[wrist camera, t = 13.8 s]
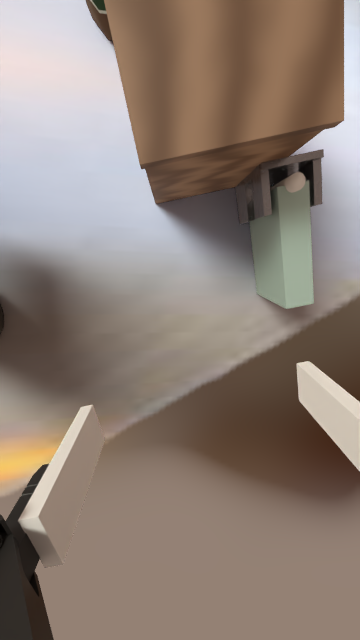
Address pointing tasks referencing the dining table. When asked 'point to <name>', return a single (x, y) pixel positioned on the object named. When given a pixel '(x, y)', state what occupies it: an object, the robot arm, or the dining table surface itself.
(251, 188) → the grey open frame
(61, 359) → the dining table surface
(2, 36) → the dining table surface
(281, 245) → the door
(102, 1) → the beer bottle
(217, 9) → the cabinet
